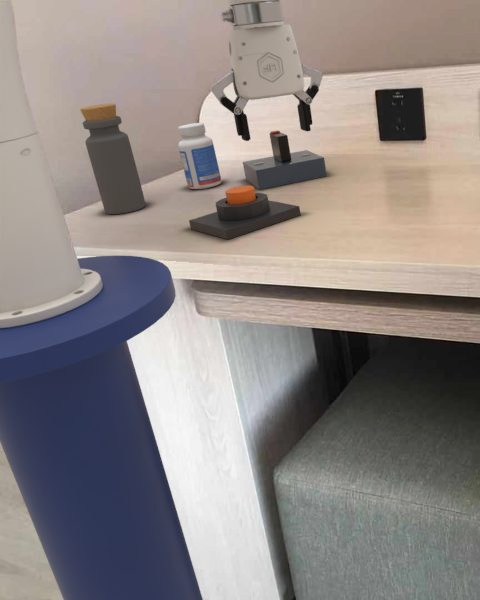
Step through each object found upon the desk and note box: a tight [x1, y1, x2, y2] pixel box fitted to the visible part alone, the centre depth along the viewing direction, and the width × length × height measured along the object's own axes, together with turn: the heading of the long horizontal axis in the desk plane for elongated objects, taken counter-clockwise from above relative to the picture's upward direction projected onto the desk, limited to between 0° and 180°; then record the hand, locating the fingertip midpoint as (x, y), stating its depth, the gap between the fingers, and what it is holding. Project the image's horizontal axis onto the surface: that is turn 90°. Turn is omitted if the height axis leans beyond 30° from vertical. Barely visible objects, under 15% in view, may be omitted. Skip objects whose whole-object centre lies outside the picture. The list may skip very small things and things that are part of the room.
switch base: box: [188, 192, 301, 240], centre depth 87 cm, size 11×9×3 cm
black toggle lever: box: [269, 129, 291, 162], centre depth 108 cm, size 5×2×4 cm, turn 25°
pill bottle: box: [177, 122, 222, 190], centre depth 109 cm, size 6×5×10 cm
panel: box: [242, 149, 328, 191], centre depth 109 cm, size 11×9×3 cm
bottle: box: [79, 102, 147, 215], centre depth 99 cm, size 6×6×15 cm
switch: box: [224, 185, 256, 204], centre depth 86 cm, size 4×4×2 cm
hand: (276, 135), depth 107 cm, fingers open, 9 cm apart
